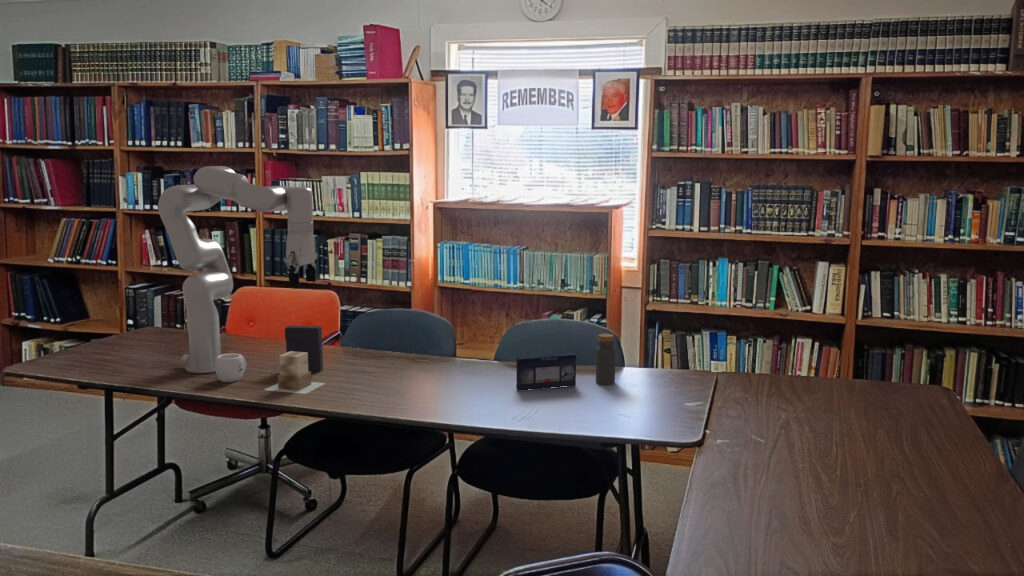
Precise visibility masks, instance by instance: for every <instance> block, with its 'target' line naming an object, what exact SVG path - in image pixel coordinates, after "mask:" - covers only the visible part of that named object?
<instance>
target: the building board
mask: <svg viewBox="0 0 1024 576" xmlns="http://www.w3.org/2000/svg"><path fill="white" fill-rule="evenodd" d="M325 384H326V382H318V381H317V382H316V381H311V385H309V386H307V387H305V388H303V389H301V390H300V391H299V390H288V389H279V388H278V382H277V383H276V384H273V385H271V386H269V387H267V388H265V389H263V391H271V392H281V393H282V392H283V393H290V394H302V395H303V394H304V395H306V394H309V393H310V392H312V391H314V390H316V389H318V388H320V387H322V386H324V385H325Z"/></svg>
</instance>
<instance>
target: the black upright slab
mask: <svg viewBox="0 0 1024 576" xmlns="http://www.w3.org/2000/svg"><path fill="white" fill-rule="evenodd" d="M284 338H285V339H284V340H285V347H286V348H285V350H286V352H285V353H287V352H289V351H295V352H308V371H310V372H311V373H314V372H315V373H321V372H322V371H324V360H323V359H324V358H323V355H324V354H323V329H322V326H321V325H320V326H319V325H288V326H286V327H285V328H284Z"/></svg>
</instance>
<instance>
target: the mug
mask: <svg viewBox="0 0 1024 576" xmlns="http://www.w3.org/2000/svg"><path fill="white" fill-rule="evenodd" d="M246 368H247V361H246V358H245V357H244V356H243V355H242V354H240V353H232V352H231V353H223V354H222V353H221V355H219V356H217V357H216V359H215V370H216V372H215V373H216V376H217V379H218V380H219V381H220V382H221V383H235V381H236V382H238V381H240V380H241V378H242V376H243V375H244V373H245V372H246V370H247V369H246Z"/></svg>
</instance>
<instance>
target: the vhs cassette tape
mask: <svg viewBox="0 0 1024 576" xmlns="http://www.w3.org/2000/svg"><path fill="white" fill-rule="evenodd" d="M576 376H577V355H576V353H559V354H546V355H536V356H535V355H533V356H531V355H530V356H521V357H516V384H515V386H516V390H517V389H518V390H528V389H540V390H543V389H542V388H551V387H560V386H561V387H562V386H575V387H576V386H577V383H576V382H577V381H576V379H577V377H576ZM518 390H517V391H518ZM528 391H529V390H528Z"/></svg>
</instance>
